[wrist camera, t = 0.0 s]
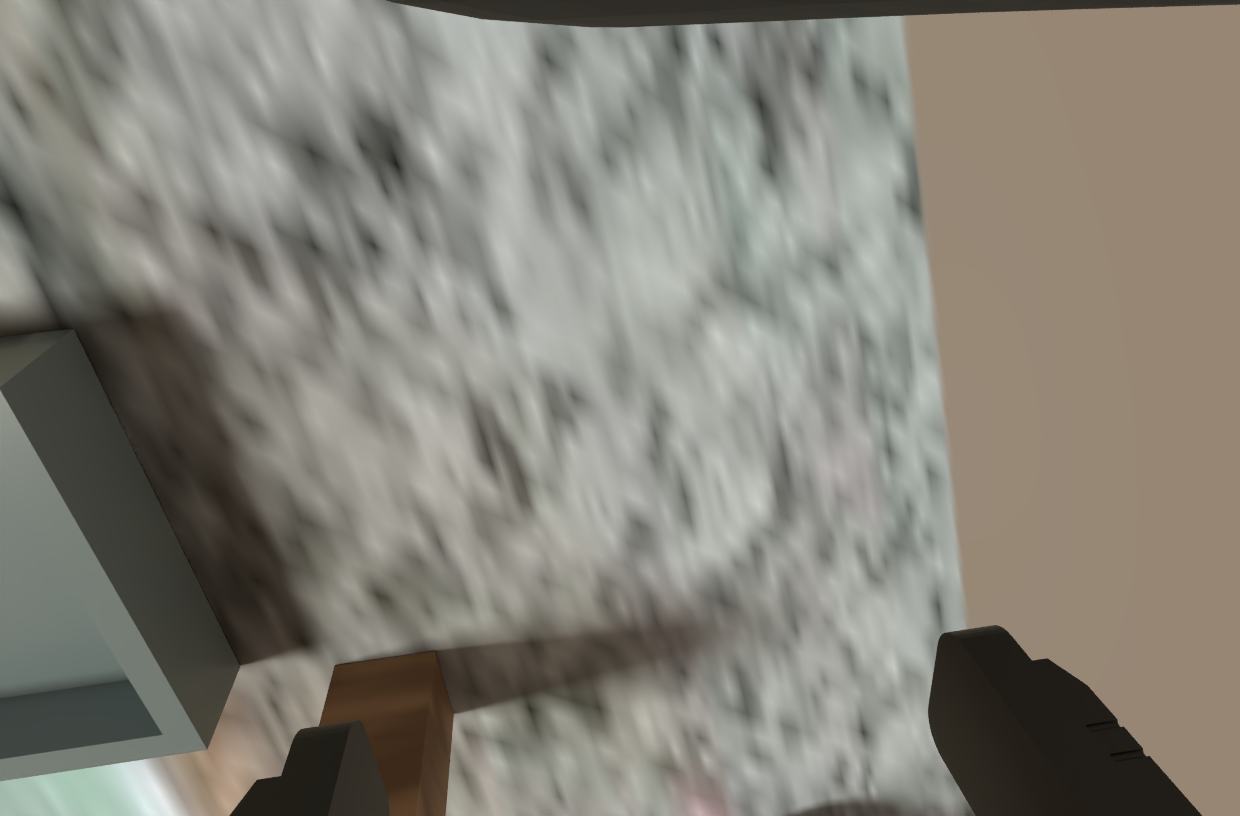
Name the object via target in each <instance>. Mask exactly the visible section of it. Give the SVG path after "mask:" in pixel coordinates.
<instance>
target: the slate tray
mask: <svg viewBox="0 0 1240 816" xmlns="http://www.w3.org/2000/svg"><path fill="white" fill-rule="evenodd" d="M239 668H240V665H239V663H238V661H237V659H236V657H235V655H234V653H233V651H232V649H231V647H230V645H229V643H228V641H227V639H226V637H225V635H224V633H223V631H222V629H221V627H220V625H219V623H218V621H217V619H216V617H215V615H214V613H213V611H212V609H211V607H210V604H209V602H208V600H207V598H206V596H205V594H204V592H203V590H202V588H201V586H200V584H199V582H198V580H197V578H196V576H195V574H194V572H193V570H192V568H191V566H190V564H189V562H188V560H187V558H186V556H185V554H184V552H183V550H182V548H181V546H180V544H179V542H178V540H177V538H176V536H175V534H174V531H173V529H172V527H171V525H170V523H169V521H168V519H167V517H166V515H165V513H164V511H163V509H162V507H161V505H160V503H159V501H158V499H157V497H156V495H155V493H154V491H153V489H152V487H151V485H150V483H149V481H148V479H147V477H146V475H145V473H144V471H143V469H142V467H141V465H140V463H139V461H138V458H137V456H136V454H135V452H134V450H133V448H132V446H131V444H130V442H129V440H128V438H127V436H126V434H125V432H124V430H123V428H122V426H121V424H120V422H119V420H118V418H117V416H116V414H115V412H114V410H113V408H112V406H111V404H110V402H109V400H108V398H107V396H106V394H105V392H104V390H103V388H102V385H101V383H100V381H99V379H98V377H97V375H96V373H95V371H94V369H93V367H92V365H91V363H90V361H89V359H88V357H87V355H86V353H85V351H84V349H83V347H82V345H81V343H80V341H79V339H78V337H77V335H76V333H75V331H74V329H66V330H57V331H48V332H39V333H30V334H21V335H13V336H4V337H0V781H5V780H11V779H18V778H24V777H31V776H38V775H44V774H51V773H57V772H64V771H70V770H77V769H84V768H90V767H97V766H103V765H110V764H116V763H123V762H129V761H136V760H143V759H149V758H156V757H162V756H169V755H175V754H182V753H189V752H195V751H202V750H207V749H208V746H209V744H210V741H211V739H212V736H213V734H214V731H215V729H216V726H217V724H218V721H219V719H220V716H221V713H222V711H223V708H224V706H225V703H226V701H227V698H228V696H229V693H230V691H231V688H232V686H233V683H234V681H235V678H236V676H237V673H238V671H239Z"/></svg>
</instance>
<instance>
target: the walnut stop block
mask: <svg viewBox="0 0 1240 816" xmlns="http://www.w3.org/2000/svg"><path fill="white" fill-rule="evenodd" d="M453 716H454V714H453V711H452V707H451V704H450V700H449V697H448V693H447V690H446V687H445V683H444V680H443V676H442V673H441V669H440V666H439V662H438V659H437V656H436V652H435V651H431V652H424V653H418V654H411V655H404V656H397V657H390V658H383V659H377V660H370V661H363V662H356V663H349V664H342V665H335V666H334V670H333V674H332V678H331V682H330V686H329V689H328V693H327V697H326V701H325V705H324V709H323V712H322V716H321V720H320V724H319V726H324V725H331V724H337V723H344V722H350V721H357V720H358V721H360V722H361V723H362V724H363V726H364V728H365V731H366V733H367V736H368V739H369V742H370V745H371V748H372V751H373V754H374V757H375V760H376V763H377V766H378V769H379V772H380V775H381V777H382V780H383V783H384V786H385V789H386V793H387V797H388V803H389V812H390V816H445V814H446V802H447V790H448V777H449V765H450V753H451V741H452V729H453Z"/></svg>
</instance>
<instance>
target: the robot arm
mask: <svg viewBox="0 0 1240 816" xmlns="http://www.w3.org/2000/svg"><path fill="white" fill-rule="evenodd" d="M387 1H390V2H394V3H399V4H404V5H410V6H415V7H420V8H426V9H431V10H437V11H442V12H447V13H453V14H458V15H463V16H469V17H474V18H479V19H488V20H502V21H515V22H528V23H542V24H555V25H568V26H582V27H642V26H666V25H690V24H714V23H737V22H761V21H785V20H809V19H833V18H857V17H880V16H904V15H928V14H951V13H976V12H1006V11H1033V10H1034V11H1037V10H1067V9H1099V8H1129V7H1130V8H1133V7H1166V6H1199V5H1237V4H1240V0H387ZM928 717H929V724H930V729H931V733H932V736H933V739H934V742H935V745H936V747H937V749H938V751H939V753H940V755H941V757H942V759H943V761H944V762H945V764H946V766H947V767H948V769H949V771H950V773H951V774H952V776H953V778H954V779H955V781H956V783H957V785H958V786H959V788H960V790H961V791H962V793H963V795H964V796H965V798H966V800H967V802H968V803H969V805H970V807H971V808H972V810H973V812H974V813H975V815H976V816H1202V815H1201V814H1200V813H1199V812H1198V811H1197V809H1196V808H1195V807H1194V806H1193V805H1192V804H1191V803H1190V802H1189V800H1188V799H1187V798H1186V797H1185V796H1184V795H1183V794H1182V792H1181V791H1180V790H1179V789H1178V788H1177V787H1176V786H1175V784H1174V783H1173V782H1172V781H1171V780H1170V779H1169V778H1168V776H1167V775H1166V774H1165V773H1164V772H1163V771H1162V770H1161V769H1160V767H1159V766H1158V765H1157V764H1156V763H1155V762H1154V761H1153V760H1152V758H1151V757H1150V756H1147V757H1146V756H1145V754H1144V753H1143V748H1142V747H1141V746H1140V745H1139V744H1138V742H1137V741H1136V740H1135V739H1134V738H1133V737H1132V736H1131V735H1130V733H1129V732H1128V731H1127V730H1126V729H1125V728H1124V727H1120V726H1119V725H1118V722H1117V719H1116V717H1115V716H1114V715H1113V714H1112V713H1111V712H1110V711H1109V709H1108V708H1107V707H1106V706H1105V705H1104V704H1103V703H1102V702H1101V700H1100V699H1099V698H1098V697H1097V696H1096V695H1095V694H1094V692H1093V691H1092V690H1091V689H1090V688H1089V687H1088V686H1087V685H1086V684H1084V683H1083V682H1082V681H1080V680H1079V679H1077V678H1076V677H1074V676H1072V675H1071V674H1070V673H1068V672H1067V671H1065V670H1064V669H1062V668H1061V667H1059V666H1057V665H1056V664H1055V663H1053V662H1052V661H1050V660H1049V659H1040V660H1035V661H1032V660H1031V659H1030V658H1029V657H1028V655H1027V654H1026V653H1025V652H1024V650H1023V649H1022V648H1021V647H1020V646H1019V645H1018V643H1017V642H1016V641H1015V640H1014V639H1013V637H1012V636H1011V635H1010V634H1009V633H1008V632H1007V631H1006V630H1005V629H1004V628H1002V627H1000V626H997V625H994V626H987V627H981V628H974V629H967V630H960V631H954V632H947V633H944V634H942V635H941V636H940V639H939V641H938V647H937V653H936V660H935V666H934V673H933V680H932V686H931V693H930V699H929V707H928ZM230 816H390V812H389V803H388V797H387V793H386V789H385V786H384V783H383V780H382V777H381V775H380V772H379V769H378V766H377V763H376V760H375V757H374V754H373V751H372V748H371V745H370V742H369V739H368V736H367V733H366V731H365V728H364V726H363V724H362V723H361V722H360V721H358V720H357V721H350V722H344V723H337V724H331V725H324V726H318V727H311V728H305V729H301V730H300V731H298V733H297V734H296V735H295V737H294V739H293V742H292V745H291V748H290V751H289V754H288V757H287V760H286V763H285V766H284V769H283V772H282V775H281V776H279V777H272V778H266V779H260V780H256V782H255V783H254V784H253V786H252V787H251V788H250V790H249V791H248V792H247V794H246V795H245V796H244V797H243V799H242V800H241V801H240V803H239V804H238V805H237V807H236V808H235V809H234V811H233V812H232V813H231V814H230Z"/></svg>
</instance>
